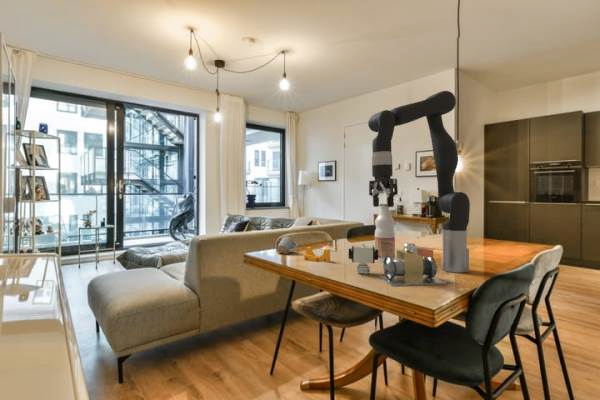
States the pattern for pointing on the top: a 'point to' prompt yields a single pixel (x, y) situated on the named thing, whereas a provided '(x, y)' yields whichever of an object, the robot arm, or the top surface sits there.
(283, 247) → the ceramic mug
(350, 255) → the pneumatic valve
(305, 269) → the top surface
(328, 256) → the pipe clamp
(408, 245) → the lever
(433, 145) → the robot arm
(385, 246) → the fruit juice
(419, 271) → the valve body
